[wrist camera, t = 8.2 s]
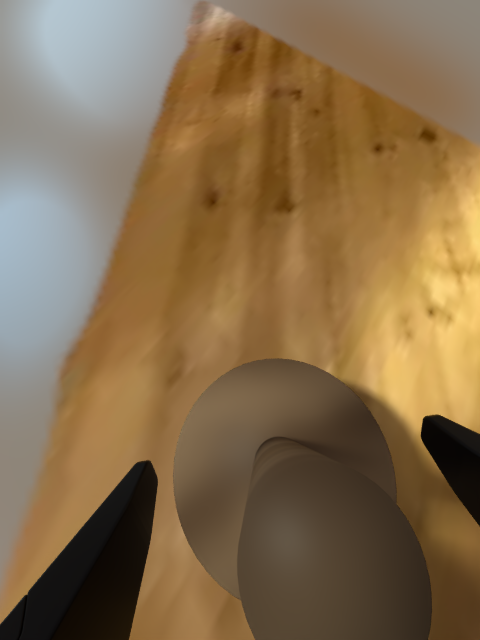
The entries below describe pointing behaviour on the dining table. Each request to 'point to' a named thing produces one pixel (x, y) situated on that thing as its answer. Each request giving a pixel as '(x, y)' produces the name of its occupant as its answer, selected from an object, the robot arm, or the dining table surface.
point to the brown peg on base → (299, 507)
